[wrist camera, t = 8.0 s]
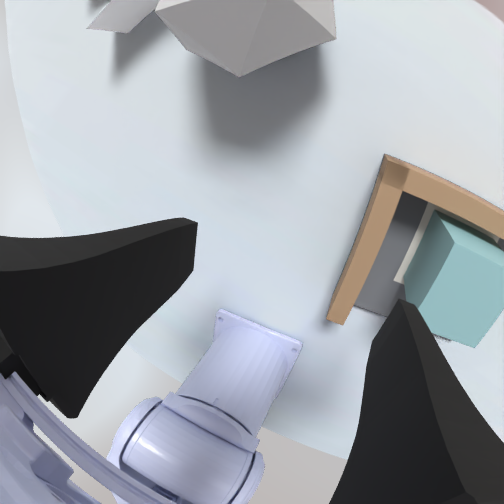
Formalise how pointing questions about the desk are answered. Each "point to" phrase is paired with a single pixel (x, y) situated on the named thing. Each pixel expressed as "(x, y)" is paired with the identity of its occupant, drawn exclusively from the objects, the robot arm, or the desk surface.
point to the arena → (402, 234)
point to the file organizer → (123, 15)
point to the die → (248, 29)
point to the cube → (456, 280)
